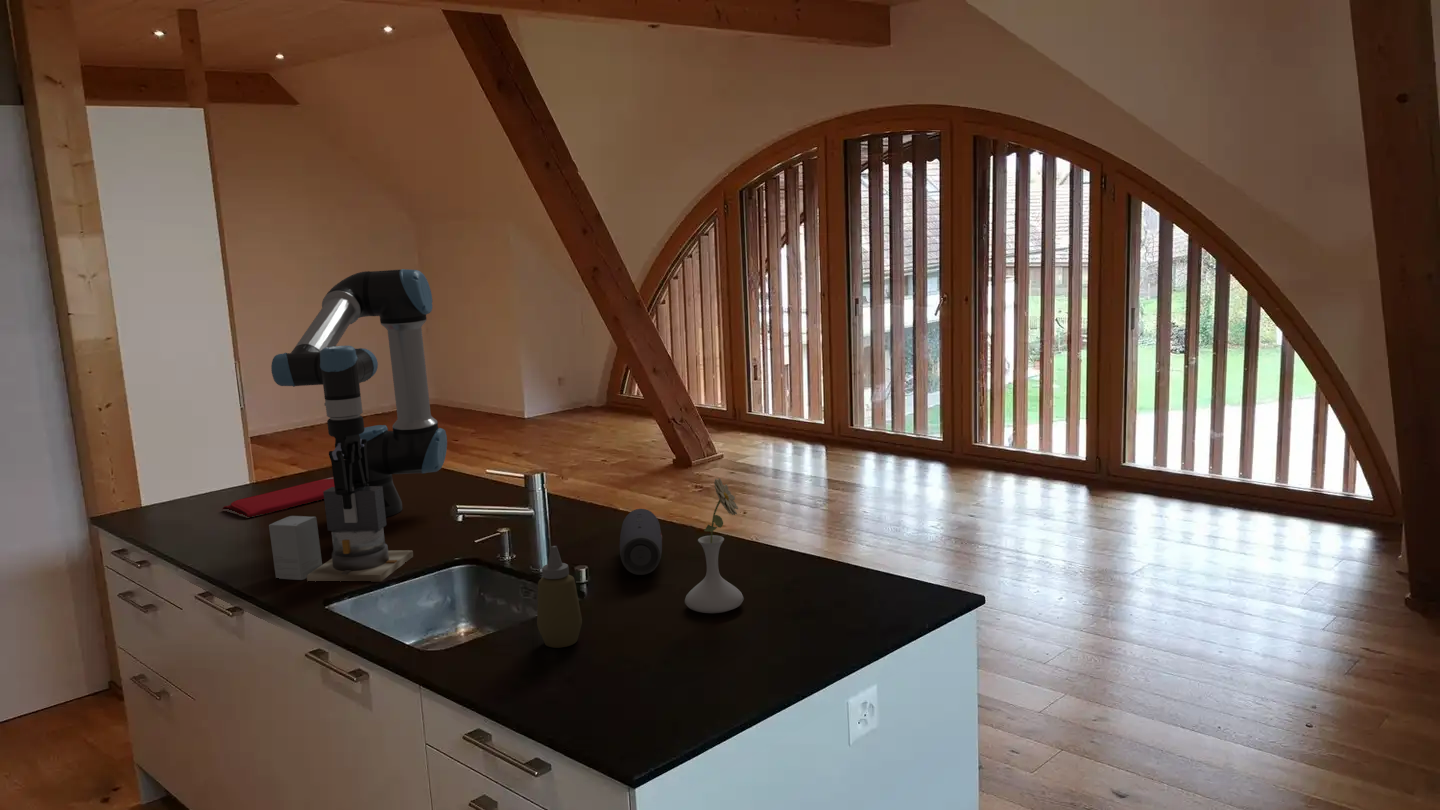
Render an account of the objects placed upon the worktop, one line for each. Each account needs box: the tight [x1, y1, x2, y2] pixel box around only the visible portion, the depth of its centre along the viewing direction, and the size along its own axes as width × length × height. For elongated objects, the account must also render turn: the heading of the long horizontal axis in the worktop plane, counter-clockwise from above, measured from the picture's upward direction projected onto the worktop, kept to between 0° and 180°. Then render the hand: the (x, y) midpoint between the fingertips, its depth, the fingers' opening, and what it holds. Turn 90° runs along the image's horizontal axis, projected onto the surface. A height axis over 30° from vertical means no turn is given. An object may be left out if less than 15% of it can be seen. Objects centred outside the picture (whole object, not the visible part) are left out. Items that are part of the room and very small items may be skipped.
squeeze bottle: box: [536, 545, 583, 649], centre depth 191 cm, size 8×8×18 cm
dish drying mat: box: [222, 476, 335, 517], centre depth 308 cm, size 16×41×4 cm, turn 139°
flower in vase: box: [684, 477, 745, 614], centre depth 205 cm, size 13×11×25 cm
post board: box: [306, 543, 414, 583], centre depth 240 cm, size 17×17×4 cm
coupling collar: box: [323, 486, 387, 557], centre depth 238 cm, size 12×12×14 cm
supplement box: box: [268, 515, 323, 581], centre depth 238 cm, size 7×7×13 cm
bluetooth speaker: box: [619, 508, 663, 576], centre depth 234 cm, size 23×9×10 cm, turn 4°
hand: (356, 519), depth 239 cm, fingers closed on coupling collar, 4 cm apart
